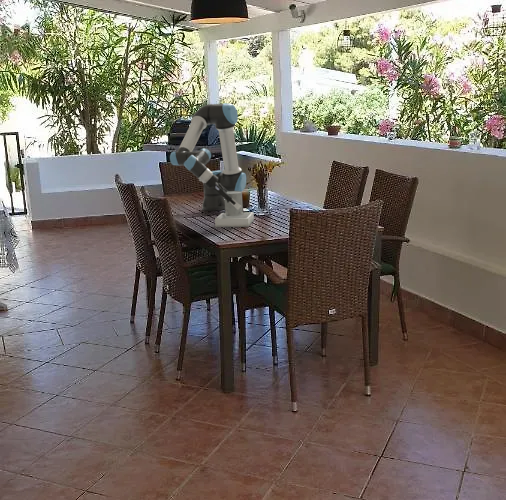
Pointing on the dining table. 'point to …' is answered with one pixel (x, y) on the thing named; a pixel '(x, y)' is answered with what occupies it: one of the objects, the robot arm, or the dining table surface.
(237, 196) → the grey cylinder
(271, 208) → the dining table surface
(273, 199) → the dining table surface
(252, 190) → the dining table surface
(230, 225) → the white square tray
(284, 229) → the dining table surface
